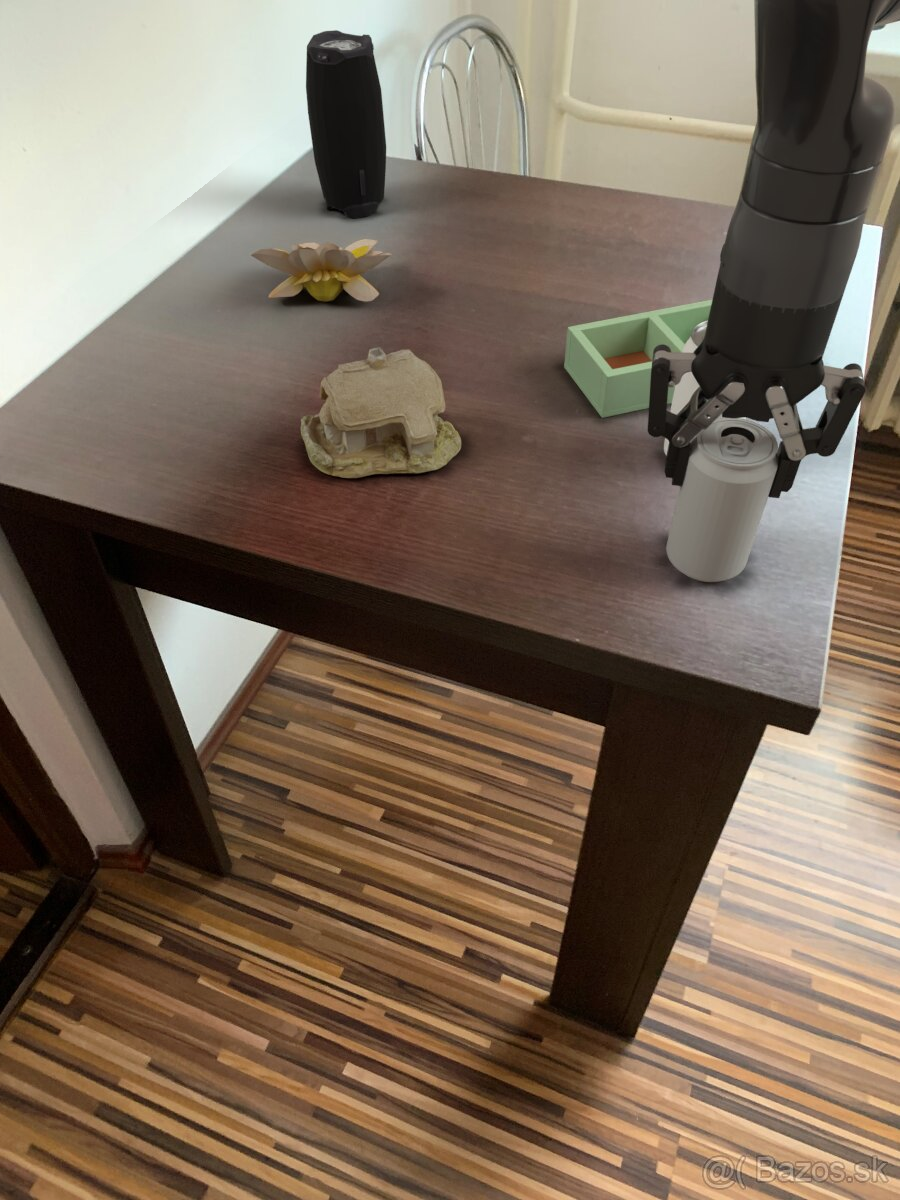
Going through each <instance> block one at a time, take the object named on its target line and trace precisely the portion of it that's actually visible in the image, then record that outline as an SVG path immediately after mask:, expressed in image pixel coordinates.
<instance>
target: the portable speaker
mask: <svg viewBox="0 0 900 1200" xmlns="http://www.w3.org/2000/svg"><path fill="white" fill-rule="evenodd" d="M374 50H375V45H374V43H373V40H372V37H371V35H370V34H362V35H360V34H359V35H357V34H351V33H346V32H342V31H341V30H337V29H335V30H325V31H321V32H318V33H316V34H313V35H312V37H311V38H310V40H309V41H308V43H307V45H306V66H305V67H306V68H305V93H306V104H307V115H308V122H309V123H308V124H309V129H310V137H311V143H312V144H311V146H312V151H313V152H312V153H313V158H314V159H313V160H314V164H315V168H316V172H317V176H318V180H319V181H318V182H319V185H320V189H321V192H322V196H323V199H324V201H325V205H326V206H325V207H326V211H332V210H333V209H335V210H338V211H340V212H343V213H344V214H345V216H346V217H347V218H351V219H359V218H364V217H368V216H371V215H374V214H376V213H377V210H378V208H379V206H380V204H381V203H382V202H383V200H384V199H385V188H386V187H385V186H386V169H387V138H386V128H385V127H386V126H385V116H384V105H383V93H382V87H381V82H380V77H379V72H378V68H377V64H376V63H377V62H376V59H375V54H374V53H375V52H374Z"/></svg>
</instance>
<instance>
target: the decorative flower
mask: <svg viewBox="0 0 900 1200" xmlns="http://www.w3.org/2000/svg"><path fill="white" fill-rule="evenodd" d="M378 242H379V241H378V240H376V239H370V238H364V239H359V240H356V241H354V242H353V243H350V244H349V245H347V246H346V247H345V248H344V249H343V247H339V246H338V245H336V244H335V243H333V242H324V243H321V244H319V243H317V242H304V243H299V244H293V245H292V247H291V252H290V253H289V252H288V251H286V250H283V249H280V248H260V249H258V250H257V251H255V252H253V253H252V254H251V255H250V256H251V257H252V258H254V259H256V260H258V261H259V262H261V263H263V264H264V265H266V266H269V267H271V268H273V269H275V270H278V271H280V272H282V273H285V274H287V275H290V276H289V277H287V278H286V279H285V280H283V281H282V282H281V283H279V284H278V285H277V286H276V287H275V288H273V290H271V292H270V293H269V294H268V298H283V297H284V298H285V297H286V298H287V297H295V296H296V295H298V294H299V293H300V292H301V291H302V290H303V288H305V289H306V290H307V292H308V293H309V294H310V296H311V297H312V298H314V299H315V300H317V301H319V302H324V303H326V302H331V301H332V302H333V301H334V300H335V299H336V298H337V297H338V296H339V295H340V294H341V293H342V292H343V290H344V291H345V292H346V293H348V295H349V296H351V297H352V298H354V299H355V300H357V301H361V302H372V301H374V300H375V299H376V298H378V296H379V295H380V292H379V291H378V290H377V289H376V288H375V287H374V286H373V285H372V284H371V283H369V281H367V280H366V279H365V278H364V277H363V276H361V275H362V274H364V273H366V272H368V271H370V270H372V269H374V268H375V267H377V266H378V265H380V264H381V263H382V262H384V261H385V260H386V259H388V258H389V257H391V256H392V253H390V252H386V253H384V251H380V250H373V249H374V247H375V246H376V245H377V244H378ZM372 250H373V251H372Z"/></svg>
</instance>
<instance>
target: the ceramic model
mask: <svg viewBox="0 0 900 1200" xmlns="http://www.w3.org/2000/svg"><path fill="white" fill-rule="evenodd" d="M318 394H319V395H318V396H319V399H320V400H322V401H325V402H323V405H322V406H321V408H320V411H319V413H317V414H315V415H313V414H306V415H303V417H302V418H301V419H300V423H301V424H300V436H301V438H302V440H303V442H304V446H305V450H306V452H307V455H308V459H309V461H310V463H311V464H312V465H313V466H314V467H315V468H316V469H317V470H319V471H320V472H322V473H324V474H327V475H329V476H333V477H339V478H343V479H358V478H363V477H367V476H371V475H381V474H382V475H390V474H422V473H426V472H431V471H437V470H439V469H441V468H442V467H444V466H446V465H447V464H448V463H449V462H450V461H451V460H452V459H453V458H454V457H456V456H457V455H458V453H459V452H460V451H461V449H462V438H461V436H460V433H459V432H458V430H456V429H455V427H454V425H453V424H452V423H451V422H449V421H448V420H444V419H442V418H441V416H439V415H440V414H442V413H444V412H445V410H446V402H445V396H444V388H443V383H442V380H441V378H440V376H439V375H438V373H437V372H436V371H435V369H433V367H431V365H430V364H429V363H427V362H426V361H425V360H422V359H420V358H419V357H418V356H416V355H415V354H414V353H413V352H412V350H411V349H410V348H409V349H403V348H402V349H400V350H397V351H394V352H390V353H388V354H386V353H385V351H384V350H383V349H382V347H381V346H379V347H374V348H370V349H369V350H368V355H367V358H366V359H361V360H356V361H353V362H347V363H341V364H338V367H337V369H335V370H333V371H332V372H331V373H329V374H328V375H327V376H324V377H323V379H322V380H321V381H320V388H319V393H318Z"/></svg>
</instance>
